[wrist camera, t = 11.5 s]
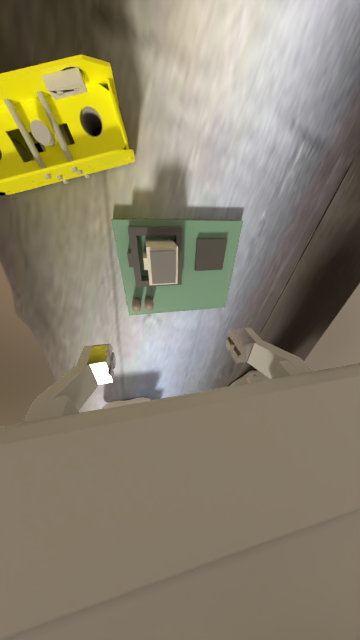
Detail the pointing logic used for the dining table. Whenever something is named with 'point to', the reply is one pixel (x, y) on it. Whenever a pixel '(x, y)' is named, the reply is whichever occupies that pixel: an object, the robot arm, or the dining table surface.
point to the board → (193, 263)
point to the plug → (161, 261)
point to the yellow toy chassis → (59, 123)
